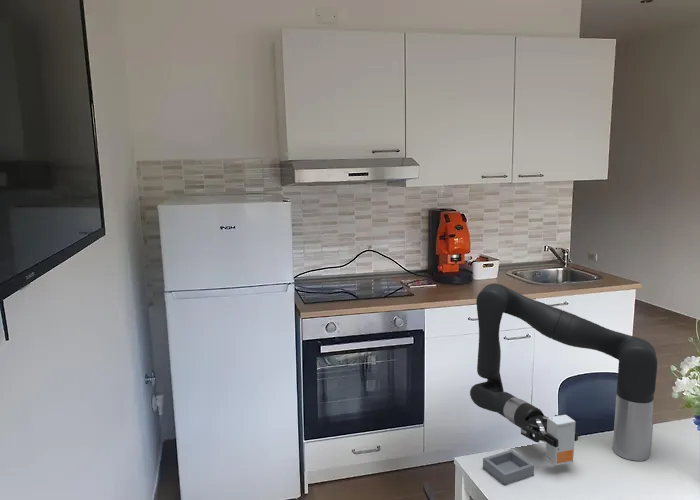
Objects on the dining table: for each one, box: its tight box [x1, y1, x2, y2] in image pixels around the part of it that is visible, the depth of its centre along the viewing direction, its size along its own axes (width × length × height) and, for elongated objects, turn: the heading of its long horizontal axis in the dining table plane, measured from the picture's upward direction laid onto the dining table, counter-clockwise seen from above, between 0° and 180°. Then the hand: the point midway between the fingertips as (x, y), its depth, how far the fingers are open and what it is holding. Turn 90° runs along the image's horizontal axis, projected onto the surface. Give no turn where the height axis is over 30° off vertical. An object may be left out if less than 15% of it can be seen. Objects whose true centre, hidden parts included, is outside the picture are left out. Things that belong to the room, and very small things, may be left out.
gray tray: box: [482, 449, 535, 486], centre depth 143 cm, size 10×9×3 cm
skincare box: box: [545, 414, 576, 466], centre depth 142 cm, size 6×4×12 cm
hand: (567, 440), depth 140 cm, fingers closed on skincare box, 6 cm apart
